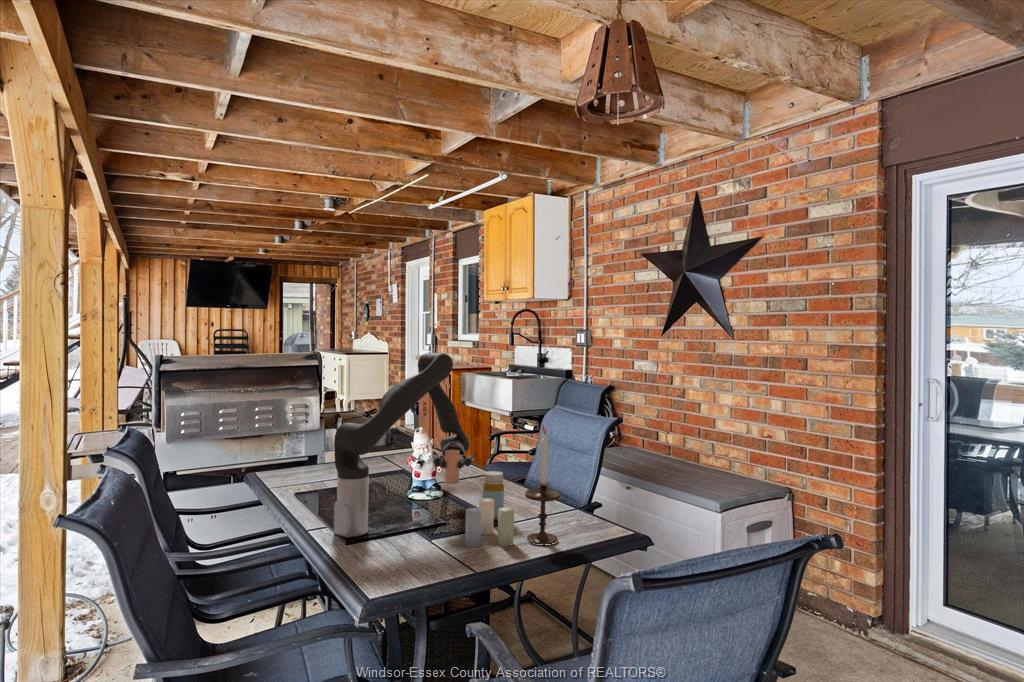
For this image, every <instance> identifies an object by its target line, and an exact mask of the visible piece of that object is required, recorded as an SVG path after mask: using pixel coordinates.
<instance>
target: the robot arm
mask: <svg viewBox="0 0 1024 682" xmlns="http://www.w3.org/2000/svg"><path fill="white" fill-rule="evenodd" d="M453 368H454V361H453V358H452V357H451V356H450V355H449V354H447V353H443V352H426V353H423V354H422V355H421V356H420V357H419V358H418V362H417V369H418V372H419V373H417V374H415V375H413V376H410V377H408V378H405V379H403V380H402V381H398V383H396V384H394V385H393V387H391V388H390V389H389V390H387V392H385V393H384V394H383V396H382V397H381V399H380V402H379V406H378V410H377V412H376V413H375V414H374V415H373V416H372V417H371V418H369V419H368V420H367V421H366V422H363V423H356V422H355V423H354V422H344V423H341V424H340V425H339V426H338V428H337V430H336V431H335V435H334V447H333V448H334V466H335V469H336V472H337V483H336V484H337V486H336V487H337V492H336V493H337V494H336V495H337V496H336V497H337V498H336V501H334V503H333V504H334V506H333V512H334V513H333V516H334V517H333V534H335V535H337V536H340V537H343V538H350V537H359V536H363V535H365V534H367V533H368V531H369V487H370V486H369V483H370V482H369V479H370V476H369V474H370V473H369V472H370V471H369V465H367V463H365V462H364V461H363V460H362V459H361V456H363V455H367V454H368V453H369V452H370V451H372V449H374V448H375V446H376V445H377V444H378V443H379V442H380V440H381V439H382V438H383V436H385V434H386V433H387V432H388V431H389V430H390V429H391V428H392V427H393V426H394V425H395V424H396V423H397V422H398V421H399V420H400V419H401V418H403V417H404V416H405V415H406V414H407V413H408V412H409V411H410V410H411V409H413V407H414V406H415V405H417V403H418V402H419V401H420V400H421V399H422V398H424V397H425V396H426V395H427V393H428V394H429V395H428V396H429V397H430V400H431V402H432V405H433V407H434V409H435V412H436V413H435V414H436V416H437V420H438V423H439V427H440V431H442V432H443V433H445V434H454V435H449V436H445V437H443V438H442V439H441V440H440V444H439V445H440V450H441V453H442V454H441V455H440V456H439V455H438V454H432V455H431V456H432V459H431V460H432V461H431V462H432V464H433V465H434V466H435V467H439V466H440V468H442V469H443V470H445V451H446V450H459V451H460V460H459V470H460V469H461V470H462V468H464V466H465V467H470V466H471V465H472V464H474V455H473V454H469V455H467V456H466V454H465V453H466V452H468V451H469V450H470V446H471V445H470V444H471V443H470V440H469V438H468V436H467V435H466V433H465V431H464V430H463V429H462V425H461V424H460V420H459V418H458V412H457V410H456V408H455V407H456V406H455V404H454V403H453V400H451V399H450V397H449V396H448V395H447V393H446V392H445V390H444V389H443V387H442V385H441V382H442V383H443V382H444V381H445V380H446V379H447V378H448V377H449V376H450V374H451V373H452V371H453Z"/></svg>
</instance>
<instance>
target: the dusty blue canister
mask: <svg viewBox="0 0 1024 682" xmlns="http://www.w3.org/2000/svg"><path fill="white" fill-rule="evenodd" d="M481 514H482V510H481V509H479V507H469V508H466V509H465V527H464V528H465V531H464V533H465V535H464V537H465V539H464V545H465V546H466V547H468V546H469V548H477V547H476V546H478V547H480V546H481V545H482V534H481Z"/></svg>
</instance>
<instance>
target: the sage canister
mask: <svg viewBox="0 0 1024 682" xmlns="http://www.w3.org/2000/svg"><path fill="white" fill-rule="evenodd" d="M514 521H515V509H514V508H511V507H504V508H500V509H498V520H497V545H498V544H499V545H498V546H500V545H502V546H501V547H509V546H508V545H511V544H513V545H514V530H515V529H514V528H515V525H514V524H515V522H514Z"/></svg>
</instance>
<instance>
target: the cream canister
mask: <svg viewBox="0 0 1024 682" xmlns="http://www.w3.org/2000/svg"><path fill="white" fill-rule="evenodd" d="M478 508H479V509H481V510H482V514H481V535H482V534H485V535H484V536H488V535H487V534H490V535H493V534H494V531H495V530H494V528H495V527H494V525H495V523H494V522H495V521H494V500H493V499H490V498H483V497H482V498H480V499H478ZM492 533H493V534H492Z"/></svg>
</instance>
